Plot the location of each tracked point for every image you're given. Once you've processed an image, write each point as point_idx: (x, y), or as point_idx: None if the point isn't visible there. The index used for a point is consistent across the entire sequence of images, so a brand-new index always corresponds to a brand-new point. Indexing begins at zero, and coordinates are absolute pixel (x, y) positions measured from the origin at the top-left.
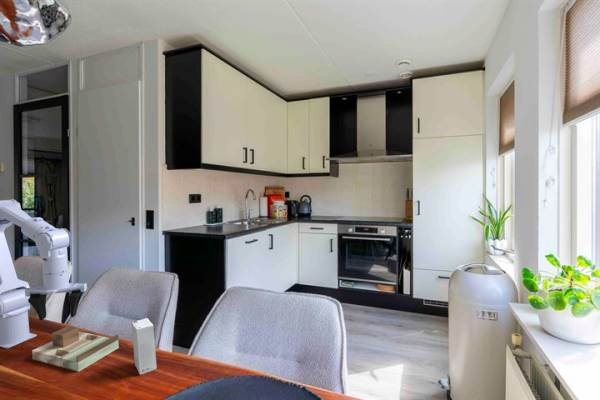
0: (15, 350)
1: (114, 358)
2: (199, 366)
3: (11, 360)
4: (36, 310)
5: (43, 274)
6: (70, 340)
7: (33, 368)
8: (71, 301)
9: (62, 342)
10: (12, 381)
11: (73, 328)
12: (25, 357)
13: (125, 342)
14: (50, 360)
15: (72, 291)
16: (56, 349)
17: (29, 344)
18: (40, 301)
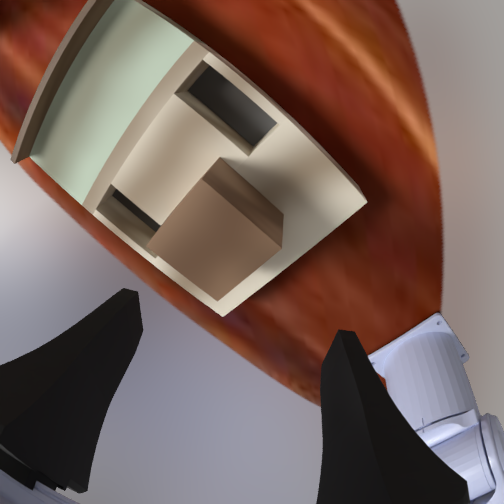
0: (418, 291)
1: (43, 67)
2: None
3: (427, 218)
4: (387, 401)
5: None
6: (189, 191)
7: (335, 92)
8: (33, 378)
9: (217, 169)
10: (385, 24)
11: (175, 260)
12: (386, 217)
13: (41, 177)
14: (268, 97)
15: (14, 477)
16: (251, 153)
17: (382, 315)
18: (356, 485)
